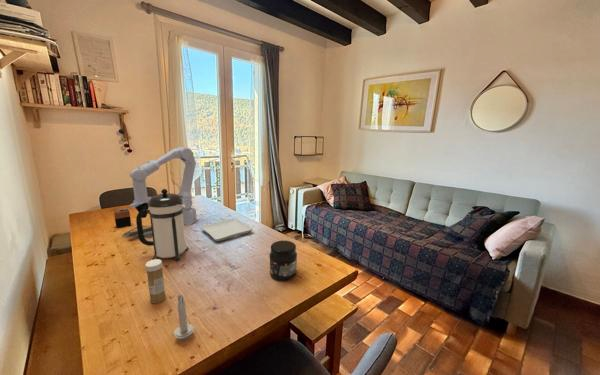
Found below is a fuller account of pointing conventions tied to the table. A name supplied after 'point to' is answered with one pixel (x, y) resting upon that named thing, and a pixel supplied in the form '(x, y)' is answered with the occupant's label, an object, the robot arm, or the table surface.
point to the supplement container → (283, 260)
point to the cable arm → (137, 231)
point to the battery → (122, 218)
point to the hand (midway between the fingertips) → (143, 217)
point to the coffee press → (164, 225)
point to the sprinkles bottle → (155, 280)
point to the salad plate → (226, 229)
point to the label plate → (146, 234)
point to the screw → (183, 322)
